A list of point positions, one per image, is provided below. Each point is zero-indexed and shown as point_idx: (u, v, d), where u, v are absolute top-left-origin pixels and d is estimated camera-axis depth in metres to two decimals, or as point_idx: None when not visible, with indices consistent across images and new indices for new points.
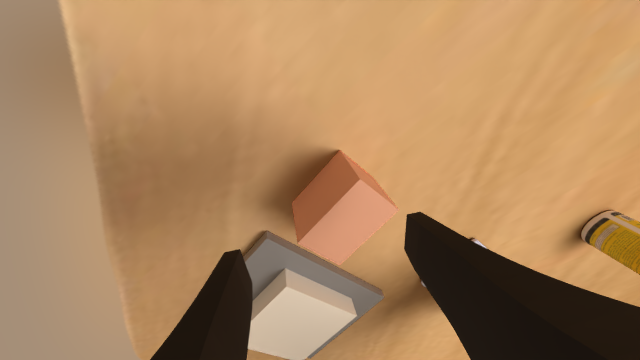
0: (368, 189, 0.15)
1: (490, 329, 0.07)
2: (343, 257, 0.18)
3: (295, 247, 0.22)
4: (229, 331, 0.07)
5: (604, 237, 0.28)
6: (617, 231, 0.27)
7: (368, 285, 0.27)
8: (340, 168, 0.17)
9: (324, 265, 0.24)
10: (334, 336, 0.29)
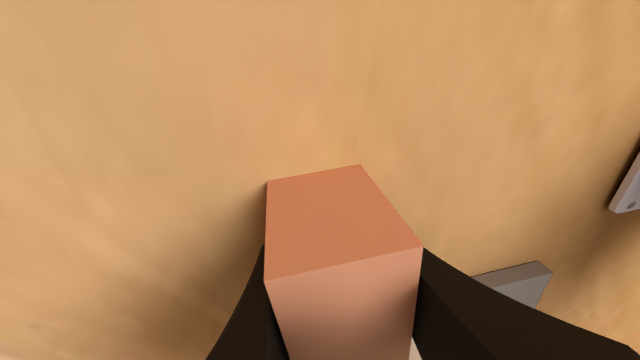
0: (306, 276, 0.06)
1: (438, 343, 0.07)
2: (401, 356, 0.09)
3: None
4: None
5: None
6: None
7: (509, 271, 0.16)
8: None
9: None
10: None
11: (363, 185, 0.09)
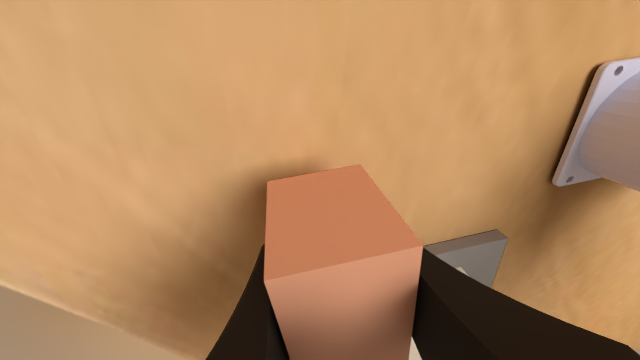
0: (306, 276, 0.06)
1: (438, 343, 0.07)
2: (401, 355, 0.09)
3: None
4: None
5: None
6: None
7: (472, 238, 0.19)
8: None
9: None
10: None
11: (363, 185, 0.09)
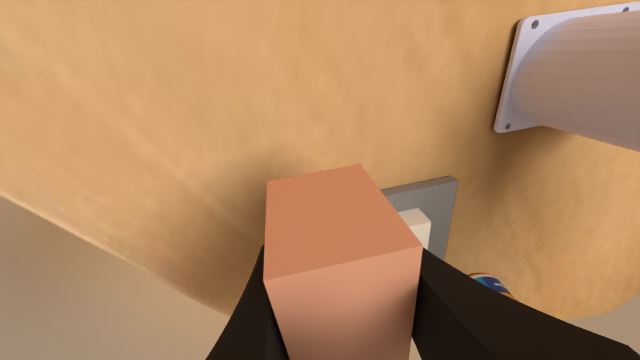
0: (305, 276, 0.06)
1: (438, 343, 0.07)
2: (400, 355, 0.09)
3: None
4: None
5: None
6: None
7: (427, 182, 0.21)
8: None
9: None
10: (443, 250, 0.25)
11: (363, 185, 0.09)
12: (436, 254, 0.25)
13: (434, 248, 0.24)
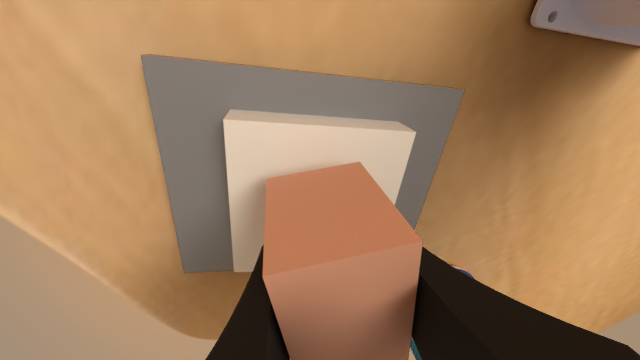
0: (305, 272, 0.06)
1: (438, 342, 0.07)
2: (400, 353, 0.09)
3: (222, 62, 0.12)
4: None
5: None
6: None
7: (419, 84, 0.14)
8: None
9: (298, 71, 0.12)
10: (417, 210, 0.17)
11: (362, 182, 0.09)
12: (406, 215, 0.17)
13: (406, 204, 0.17)
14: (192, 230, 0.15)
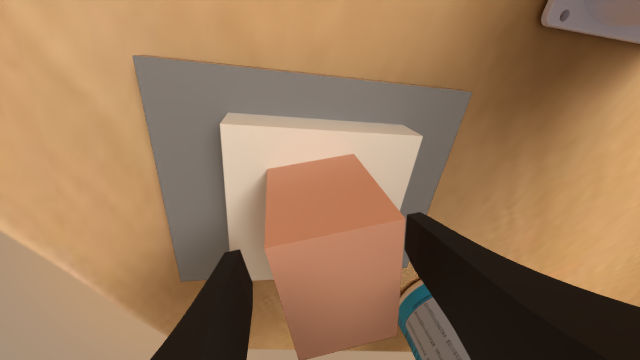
0: (302, 244, 0.07)
1: (490, 329, 0.07)
2: (390, 326, 0.09)
3: (220, 63, 0.11)
4: (229, 331, 0.07)
5: None
6: None
7: (425, 86, 0.13)
8: None
9: (299, 72, 0.11)
10: None
11: (355, 171, 0.10)
12: None
13: (410, 209, 0.16)
14: (188, 238, 0.14)
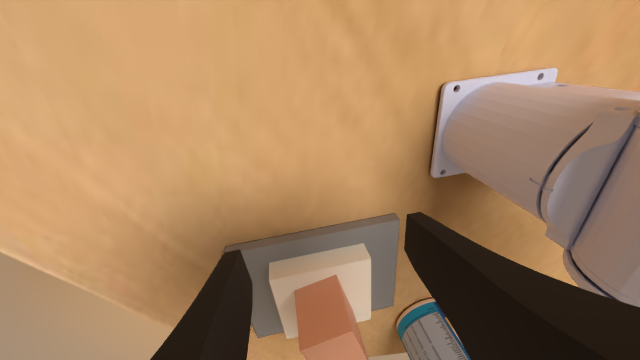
0: (313, 347, 0.17)
1: (490, 329, 0.07)
2: None
3: (261, 241, 0.22)
4: (229, 331, 0.07)
5: None
6: None
7: (372, 219, 0.23)
8: None
9: (300, 237, 0.22)
10: (392, 279, 0.26)
11: (335, 292, 0.20)
12: (386, 282, 0.27)
13: (383, 277, 0.26)
14: (258, 317, 0.26)
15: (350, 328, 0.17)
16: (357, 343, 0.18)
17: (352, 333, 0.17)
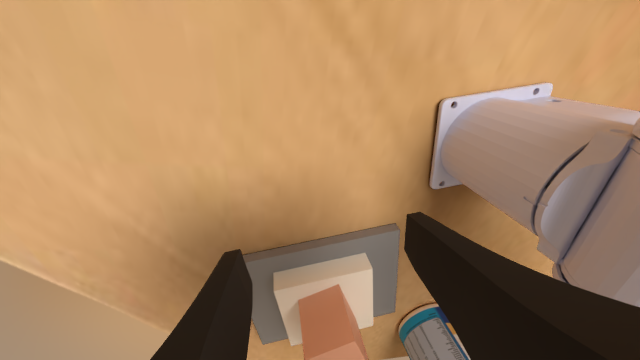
0: (317, 356, 0.18)
1: (490, 329, 0.07)
2: None
3: (265, 252, 0.22)
4: (229, 331, 0.07)
5: None
6: None
7: (373, 229, 0.23)
8: None
9: (303, 248, 0.22)
10: (394, 286, 0.27)
11: (338, 302, 0.21)
12: (388, 290, 0.27)
13: (385, 285, 0.27)
14: (263, 325, 0.26)
15: (353, 338, 0.18)
16: (360, 352, 0.19)
17: (355, 343, 0.18)
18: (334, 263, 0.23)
